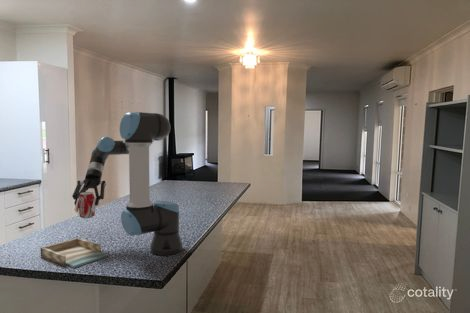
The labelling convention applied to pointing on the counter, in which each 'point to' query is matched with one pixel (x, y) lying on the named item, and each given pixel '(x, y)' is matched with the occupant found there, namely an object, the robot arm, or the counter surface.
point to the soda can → (86, 205)
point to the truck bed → (73, 252)
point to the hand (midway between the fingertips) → (84, 210)
